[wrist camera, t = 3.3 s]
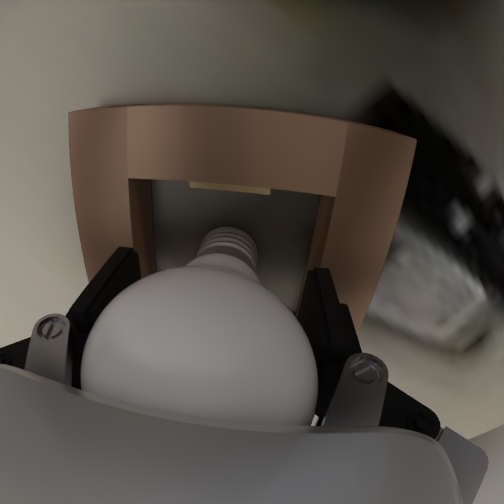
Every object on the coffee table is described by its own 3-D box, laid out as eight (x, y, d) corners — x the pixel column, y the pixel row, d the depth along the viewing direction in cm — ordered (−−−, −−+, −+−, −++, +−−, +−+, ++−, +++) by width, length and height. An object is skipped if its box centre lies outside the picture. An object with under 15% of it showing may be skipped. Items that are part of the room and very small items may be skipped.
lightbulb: (321, 262, 15) (369, 495, 5) (219, 316, 17) (182, 514, 7) (245, 153, 12) (160, 382, 3) (140, 231, 14) (10, 424, 5)
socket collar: (391, 130, 11) (417, 139, 9) (330, 349, 18) (335, 381, 15) (99, 106, 11) (68, 112, 9) (123, 326, 17) (109, 354, 15)
